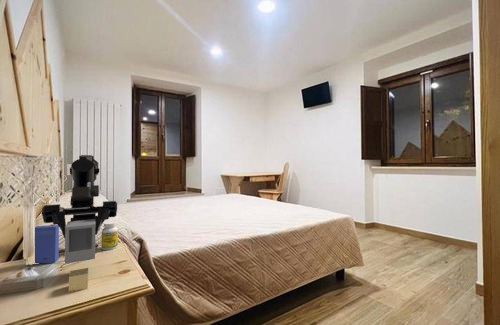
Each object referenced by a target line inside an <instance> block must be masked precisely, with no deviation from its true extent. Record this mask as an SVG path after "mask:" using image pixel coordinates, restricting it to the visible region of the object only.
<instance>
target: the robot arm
mask: <svg viewBox="0 0 500 325" xmlns="http://www.w3.org/2000/svg"><path fill="white" fill-rule="evenodd" d="M78 157H79V158H78V159H76V160H74V161H72V163H71V165H70V167H69V175H70V176H71V178H72V181H73V184H72V185H73V186H72V188H71V196H70V206H71V207H66V208H65V207H63V206H61V204H60V203H58V204H54V203H53V204H45V205H44V206H42V208H41V216H42V220H43V223H45V224H51V223H52V224H55V225H58V226H59V230H61V233H62V236H63V238H64V240H65V227H66V225H67V222H66V216H72V217H71V218H70V221H80V220H91V219H96V228H95V236H97V235H98V233H99V231H101V227H102V226H103V225H104V223H105V221H106V220H109V219H110V218H115V217H117V216H118V215H117V212H118V202H117V201H116V200H108V201H107V200H105V201H102V205H100V206H95V205H94V204H95V203H94V202H95V200H94V199H95V198H96V197H100V185H98V184H97V185H96V184H95V181H96V180H97V176H98V175H99V174H100V168H99V162H98V161H97V160H96V159H94V155H92V154H91V155H90V154H89V155H88V154H81V155H79V156H78ZM96 214H97V215H96ZM98 247H99V244H95V248H98Z"/></svg>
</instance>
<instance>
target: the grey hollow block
mask: <svg viewBox="0 0 500 325" xmlns="http://www.w3.org/2000/svg"><path fill="white" fill-rule="evenodd" d="M95 228H96V219H91V220H80V221H71V220H70V221H67V222H66V227H65V239H64V264H71V263H72V264H73V263H78V262H83V261H84V262H85V261H91V260H95V259H96V247H95V245H96V235H95Z"/></svg>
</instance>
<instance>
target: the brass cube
mask: <svg viewBox="0 0 500 325" xmlns="http://www.w3.org/2000/svg"><path fill="white" fill-rule="evenodd" d="M88 288H89V267H83V268H81V269H80V268H79V269H74V270H70V271H69V275H68V293H73V292H77V291H82V290H88Z"/></svg>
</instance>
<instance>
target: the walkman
mask: <svg viewBox="0 0 500 325" xmlns="http://www.w3.org/2000/svg"><path fill="white" fill-rule="evenodd" d="M34 226H35V263H48V264H54V263H55V264H56V262H58V260H59V258H60V257H59V254H60V253H59V252H60V250H59V249H60V247H59V246H60V245H59V244H60V227H59V226H58V225H57V224H53V223H52V224H51V223H50V224H49V225H34Z"/></svg>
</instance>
